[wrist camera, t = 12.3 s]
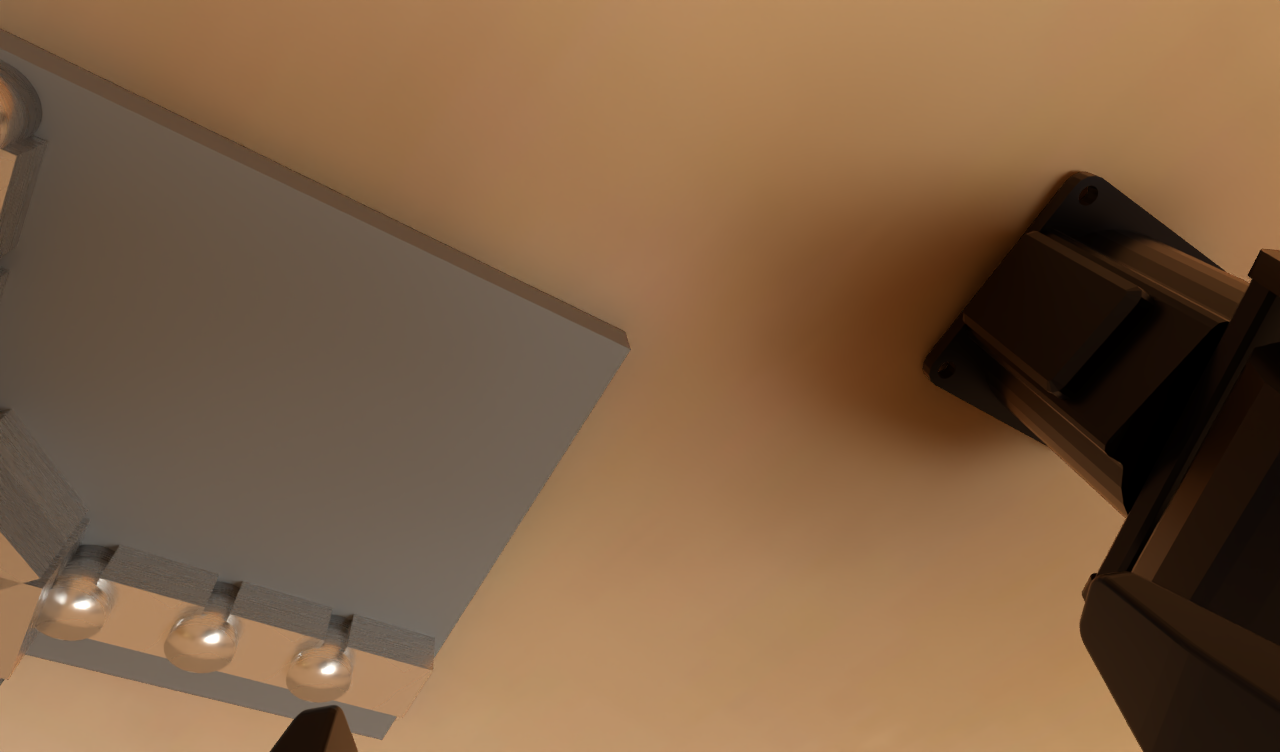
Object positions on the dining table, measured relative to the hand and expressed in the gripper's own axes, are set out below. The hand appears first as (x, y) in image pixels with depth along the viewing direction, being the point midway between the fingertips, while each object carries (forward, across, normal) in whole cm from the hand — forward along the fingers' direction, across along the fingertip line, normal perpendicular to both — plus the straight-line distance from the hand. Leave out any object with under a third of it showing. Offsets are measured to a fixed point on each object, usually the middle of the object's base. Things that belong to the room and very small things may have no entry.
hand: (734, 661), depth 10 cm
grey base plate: (+12, +11, +3) cm, 17 cm away
